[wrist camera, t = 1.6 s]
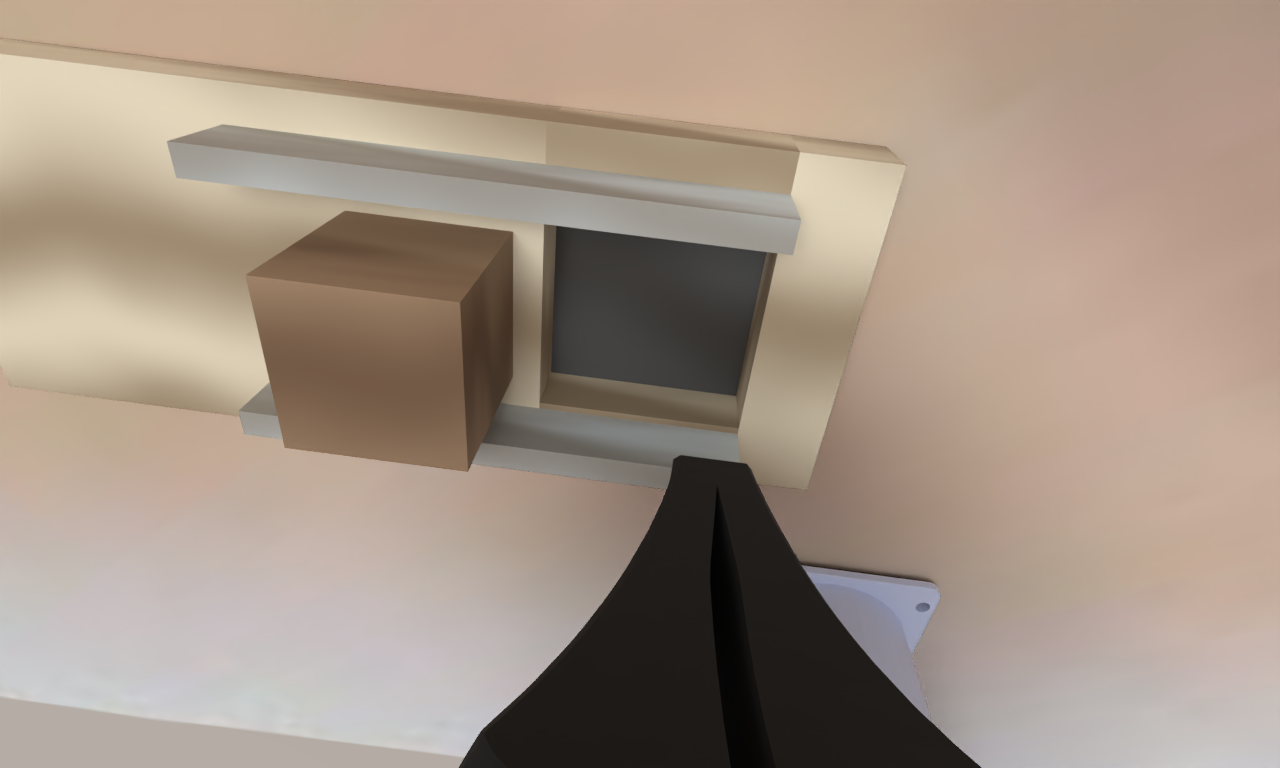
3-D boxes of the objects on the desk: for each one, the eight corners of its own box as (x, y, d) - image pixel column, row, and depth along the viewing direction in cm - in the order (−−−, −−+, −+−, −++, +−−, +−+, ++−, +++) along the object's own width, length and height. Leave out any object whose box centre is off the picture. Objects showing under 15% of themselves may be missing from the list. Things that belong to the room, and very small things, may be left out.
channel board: (798, 451, 22) (816, 536, 19) (62, 356, 23) (-51, 422, 19) (886, 146, 17) (931, 188, 14) (-74, 28, 18) (-260, 41, 14)
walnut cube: (513, 376, 19) (467, 471, 16) (364, 357, 19) (284, 447, 16) (513, 231, 17) (459, 302, 13) (344, 210, 17) (244, 274, 13)
